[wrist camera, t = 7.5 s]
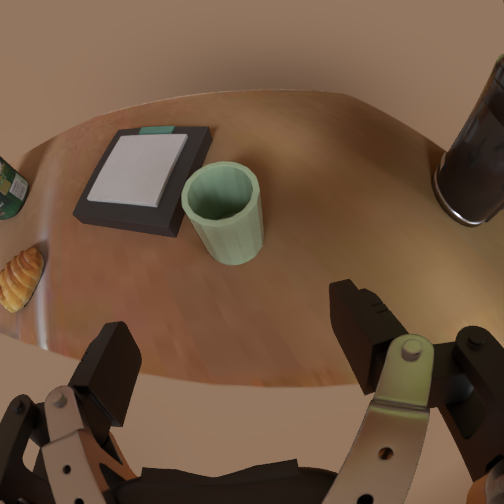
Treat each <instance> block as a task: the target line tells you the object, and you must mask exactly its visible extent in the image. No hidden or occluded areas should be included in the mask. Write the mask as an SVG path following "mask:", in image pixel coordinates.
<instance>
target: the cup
mask: <svg viewBox="0 0 504 504" xmlns="http://www.w3.org/2000/svg"><path fill="white" fill-rule="evenodd" d="M181 198H182V207H183V209H184V211H185V213H186V214H187V216H188V218H189V220H190V221H191V223H192V225H193V227H194V228H195V230H196V232H197V234H198V235H199V237H200V239H201V240H202V242H203V244H204V246H205V247H206V249H207V250H208V252H209V254H210V255H211V256H212V257H213V258H214V259H215V260H217V261H218V262H220V263H223V264H227V265H239V264H243V263H245V262H248V261H249V260H251V259H252V258H254V257H255V256H256V255H257V254H258V252H259V251H260V249H261V247H262V245H263V240H264V227H263V217H262V206H261V196H260V188H259V184H258V180H257V177H256V176H255V175H254V174H253V173H252V171H251V170H250V169H249V168H248V167H246V166H243V165H241V164H239V163H237V162H227V161H220V162H216V163H211V164H208V165H206V166H204V167H202V168H200V169H199V170H197V171H196V172H194V173H193V175H192V176H191V177H190V178H189V179H188V180H187V181H186V183H185V186H184V188H183V191H182V193H181Z"/></svg>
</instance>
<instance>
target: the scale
mask: <svg viewBox="0 0 504 504" xmlns="http://www.w3.org/2000/svg"><path fill="white" fill-rule="evenodd" d="M211 142H212V137H211V134H210V130H209V127H175V126H157V127H142V128H135V129H122V130H118V131H117V133H116V135H115V136H114V138H113V139H112V141H111V143H110V144H109V146H108V147H107V149H106V151H105V152H104V154H103V156H102V158H101V159H100V161H99V163H98V164H97V166H96V168H95V170H94V172H93V174H92V175H91V177H90V179H89V181H88V183H87V185H86V187H85V189H84V191H83V193H82V195H81V197H80V199H79V201H78V203H77V205H76V207H75V210H74V212H73V215H74V216H75V217H76V218H77V219H78V220H79V221H80V222H82V223H84V224H91V225H98V226H104V227H111V228H117V229H124V230H130V231H137V232H143V233H150V234H156V235H162V236H169V237H176V236H177V233H178V230H179V227H180V224H181V221H182V218H183V215H184V212H185V211H184V209H183V207H182V198H181V193H182V191H183V188H184V186H185V183H186V181H187V180H188V179H189V178H190V177H191V176H192V175H193V173H194V172H196V171H197V170H199V169H200V168H201V166H202V164H203V161H204V159H205V156H206V154H207V151H208V149H209V146H210V144H211Z"/></svg>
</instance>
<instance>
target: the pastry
mask: <svg viewBox="0 0 504 504" xmlns="http://www.w3.org/2000/svg"><path fill="white" fill-rule="evenodd" d="M43 266H44V260H43V257H42V254H41V253H40V252H39V251H38V250H37V249H36V248H35V247H33V248H29V249H27V250H25V251H21V252H20V254H19V255H17V256H14V258H13V260H12V261H10V262H9V263H7V264H6V267H5V269H4V270H2V271H1V272H0V302H1V304H2V305H3V306H4V307H5V308H6V309H7V310H9V311H10V312H11V313H15V312H17V311H19V310H21V309H23V308H24V305H25V304H26V303H27V302H28V301H29V299H30V297H31V296H32V293H33V291H34V290H35V287H36V285H38V282H39V280H40V277H41V274H42V269H43Z"/></svg>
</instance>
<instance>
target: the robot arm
mask: <svg viewBox="0 0 504 504" xmlns="http://www.w3.org/2000/svg"><path fill="white" fill-rule="evenodd" d="M503 2H504V0H503ZM445 154H446V151H445V153H444V154H443V156H442V158H441V164H439V165H438V167H437V168H436V170H435V171H434V173H433V177H432V184H433V189H434V192H435V195H436V197H437V199H438V201H439V203H440V204H441V206H442V207H443V208H444V210H445V211H446V212H447V213H448V214H449V215H450V216H451V217H452V218H453V219H454V220H456V221H457V222H459V223H460V224H462V225H464V226H468V227H476V226H479V225H480V224H481V223H482V222H484V221H485V222H488V221H489V220H490V219H492V218H493V217H494V216H495V215H496V214H497V213H498V212H499V211H500V210H502V209H504V54H501V55H500V56H499V57H498V59H497V60H496V63H495V65H494V67H493V70H492V72H491V75H490V77H489V79H488V81H487V83H486V85H485V87H484V89H483V91H482V93H481V95H480V97H479V99H478V101H477V103H476V105H475V107H474V109H473V110H472V112H471V114H470V116H469V118H468V120H467V121H466V123H465V125H464V126H463V128H462V130H461V132H460V133H459V135H458V137H457V138H456V140H455V141H454V143H453V145H452V146H451V148H450V150H449V151H448V153H447V154H446V156H445ZM329 298H330V319H331V325H332V328H333V331H334V334H335V336H336V338H337V340H338V342H339V344H340V346H341V348H342V350H343V352H344V354H345V356H346V358H347V360H348V362H349V364H350V366H351V368H352V370H353V372H354V374H355V376H356V378H357V380H358V382H359V384H360V387H361V389H362V391H363V393H364V395H368V394H370V393H373V392H375V394H374V397H373V400H371V402H370V404H369V407H368V409H367V411H366V414H365V416H364V419H363V421H362V424H361V426H360V429H359V431H358V433H357V436H356V438H355V440H354V442H353V445H352V447H351V449H350V451H349V453H348V455H347V457H346V459H345V461H344V464H343V465H342V467H341V469H340V471H339V473H336V472H332V471H329V470H325V469H320V468H311V467H298V463H297V459H293V460H288V461H282V462H276V463H270V464H263V465H256V466H253V467H250V468H247V469H244V470H241V471H237V472H234V473H231V474H227V475H223V476H220V477H213V478H212V477H207V476H202V475H197V474H193V473H188V472H184V471H180V470H176V469H157V468H145V467H143V468H142V473H141V476H140V477H137V476H136V475H135V474H134V473H133V471H132V470H131V469H130V467H129V465H128V464H127V462H126V460H125V458H124V456H123V454H122V452H121V450H120V448H119V446H118V444H117V443H116V440H115V438H114V436H113V435H112V433H111V432H110V431H109V430H110V427H111V426H114V427H123V424H124V420H125V416H126V413H127V409H128V406H129V402H130V399H131V396H132V392H133V389H134V386H135V383H136V379H137V376H138V373H139V370H140V367H141V363H142V358H141V353H140V350H139V348H138V346H137V344H136V343H135V341H134V339H133V337H132V335H131V333H130V331H129V329H128V327H127V325H126V324H125V323H124V322H123V321H120V322H112V323H106V324H105V325H104V326H103V328H102V330H101V332H100V333H99V335H98V336H97V337H96V338H95V339H94V340H93V341H92V342H91V343H90V344H89V346H88V348H87V350H86V352H85V355H83V357H82V359H81V362H80V363H79V364H78V366H77V368H76V370H75V372H74V374H73V376H72V378H71V380H70V382H69V384H68V385H67V386H59V387H57V388H55V389H54V390H52V391H51V392H50V393H49V394H48V396H47V397H46V400H45V402H42V403H38V404H35V403H34V402H33V401H32V400H31V399H30V398H29V396H27V395H24V394H22V395H19V396H17V397H16V398H14V399H13V400H12V401H11V403H10V404H9V406H8V408H7V410H6V412H5V414H4V416H3V419H2V420H1V423H0V504H404V502H405V499H406V497H407V494H408V491H409V489H410V486H411V483H412V480H413V477H414V474H415V471H416V468H417V465H418V461H419V458H420V455H421V451H422V447H423V443H424V439H425V435H426V431H427V426H428V422H429V416H430V409H429V408H435V407H438V409H439V411H440V413H441V415H442V417H443V418H444V421H445V423H446V424H447V426H448V428H449V430H450V432H451V434H452V436H453V438H454V441H455V443H456V445H457V447H458V449H459V451H460V453H461V455H462V457H463V460H464V462H465V464H466V466H467V469H468V471H469V473H470V476H471V478H472V481H473V485H472V486H471V488H470V490H469V492H468V495H467V502H466V504H504V348H503V347H502V346H501V345H500V343H499V342H498V341H497V340H496V339H495V338H494V337H493V336H492V335H491V333H490V332H488V331H487V330H486V329H484V328H482V327H478V326H467V327H464V328H463V329H461V330H460V331H459V332H458V334H457V337H456V340H455V342H448V343H442V344H432V343H431V342H430V341H429V340H428V339H426V338H425V337H423V336H420V335H417V334H409V333H408V332H407V331H406V329H405V328H404V327H403V326H402V324H401V323H400V322H399V321H398V320H397V318H396V317H395V316H394V315H393V314H392V312H391V311H390V310H388V308H387V306H386V305H385V304H383V302H382V301H381V299H380V298H379V297H378V296H377V295H376V294H375V293H373V292H371V291H369V290H367V289H365V288H364V289H360V290H358V288H357V287H356V286H355V285H354V283H353V282H352V281H351V280H350V279H346V280H342V281H338V282H334V283H330V285H329ZM29 438H30V439H31V440H32V441H33V442H35V443H36V444H37V445H38V446H39V447H40V450H39V453H38V456H37V459H36V462H35V466H34V469H33V472H31V471H30V470H28V469H27V468H26V467H25V465H24V463H23V459H22V458H23V454H24V451H25V448H26V445H27V442H28V439H29Z"/></svg>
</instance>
